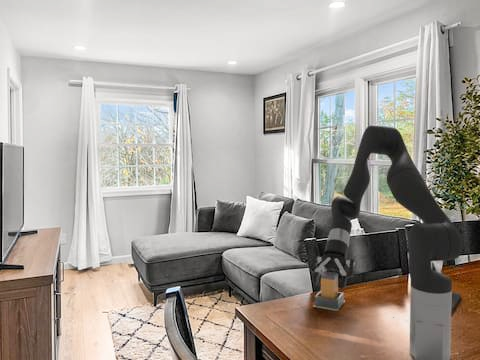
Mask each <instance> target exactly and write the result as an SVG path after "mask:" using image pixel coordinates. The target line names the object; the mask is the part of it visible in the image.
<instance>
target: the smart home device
mask: <svg viewBox="0 0 480 360" xmlns="http://www.w3.org/2000/svg"><path fill="white" fill-rule="evenodd" d="M461 299H462V295H461V293H457V292H452V302H451V315H452V314H453V313H454V311H455V309H456V307H457V305H458V304H459V303H460V301H461Z"/></svg>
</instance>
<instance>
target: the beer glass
mask: <svg viewBox="0 0 480 360" xmlns="http://www.w3.org/2000/svg"><path fill="white" fill-rule="evenodd" d="M443 263H444V262H443V261H431V268H432V270H433V271H436V272H439V273H442V270H443V269H442V268H443Z"/></svg>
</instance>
